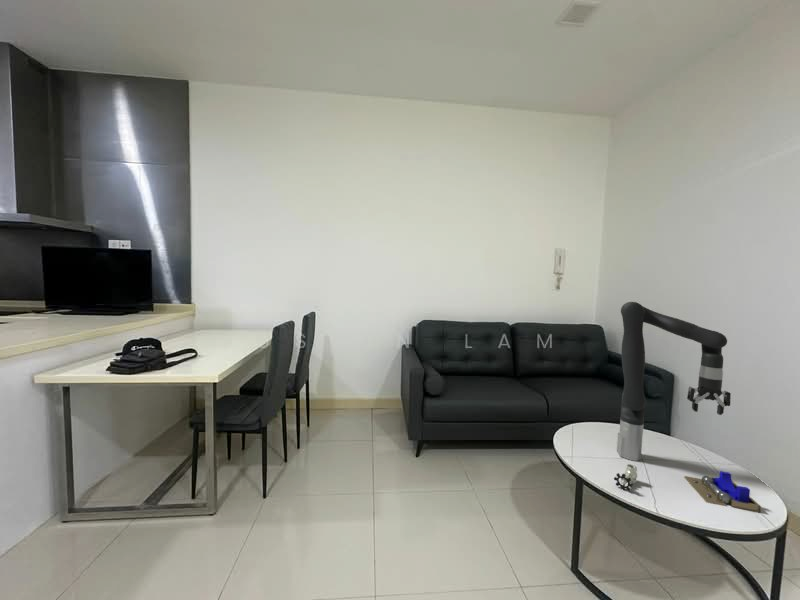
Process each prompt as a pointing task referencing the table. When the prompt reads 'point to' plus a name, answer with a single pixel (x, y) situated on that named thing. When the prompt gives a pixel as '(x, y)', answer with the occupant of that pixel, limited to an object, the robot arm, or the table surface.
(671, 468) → the table surface
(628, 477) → the valve
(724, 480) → the blue curved bracket
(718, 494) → the hinge base
